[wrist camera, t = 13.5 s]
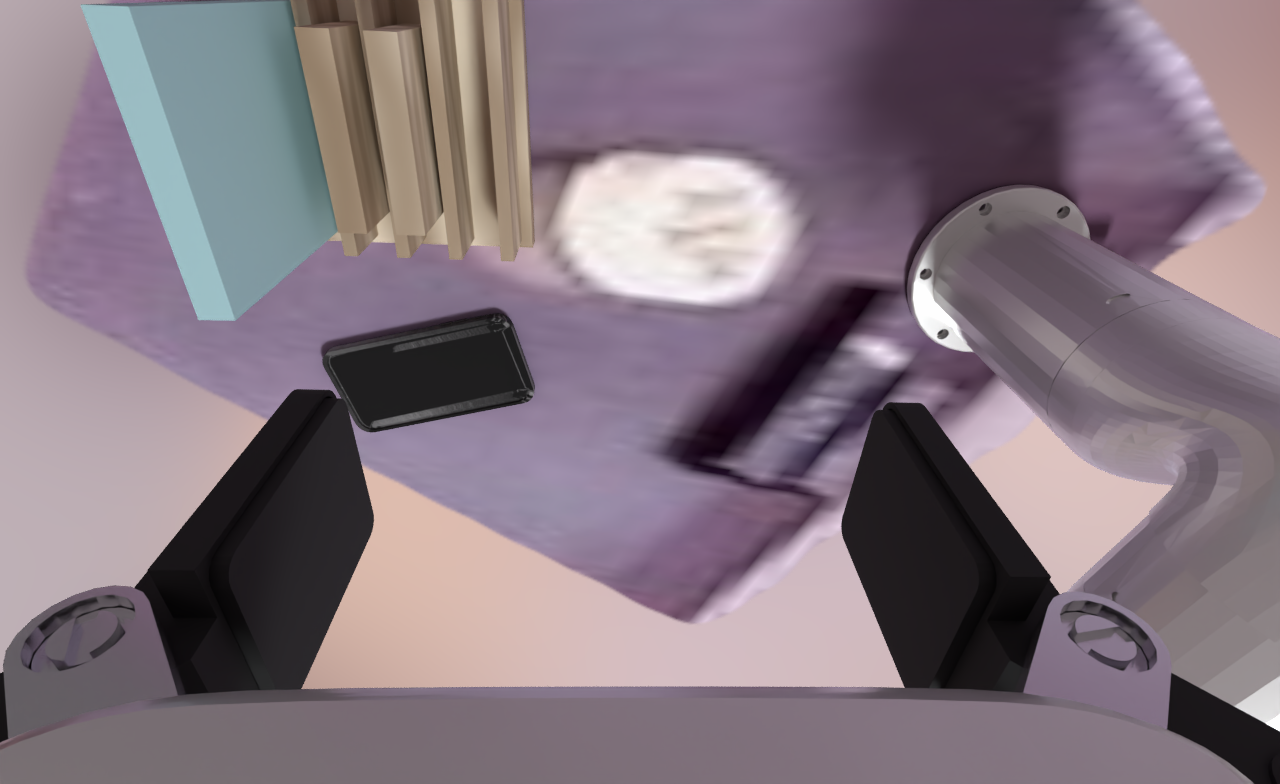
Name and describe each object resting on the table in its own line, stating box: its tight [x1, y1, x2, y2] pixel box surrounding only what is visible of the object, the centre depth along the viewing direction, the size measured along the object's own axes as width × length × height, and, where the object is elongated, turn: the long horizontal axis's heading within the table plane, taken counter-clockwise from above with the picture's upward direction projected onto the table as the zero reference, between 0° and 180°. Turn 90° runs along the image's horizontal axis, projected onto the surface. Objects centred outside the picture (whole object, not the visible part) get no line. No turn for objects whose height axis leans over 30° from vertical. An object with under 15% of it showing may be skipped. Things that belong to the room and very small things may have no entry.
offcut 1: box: [294, 21, 390, 234], centre depth 36 cm, size 2×10×7 cm, turn 177°
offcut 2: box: [363, 24, 444, 236], centre depth 36 cm, size 2×10×7 cm, turn 177°
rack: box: [290, 0, 535, 261], centre depth 37 cm, size 15×16×5 cm
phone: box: [323, 313, 535, 432], centre depth 50 cm, size 8×1×15 cm
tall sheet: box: [81, 0, 338, 321], centre depth 32 cm, size 2×12×16 cm, turn 178°
